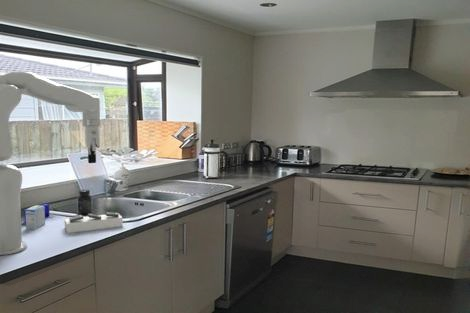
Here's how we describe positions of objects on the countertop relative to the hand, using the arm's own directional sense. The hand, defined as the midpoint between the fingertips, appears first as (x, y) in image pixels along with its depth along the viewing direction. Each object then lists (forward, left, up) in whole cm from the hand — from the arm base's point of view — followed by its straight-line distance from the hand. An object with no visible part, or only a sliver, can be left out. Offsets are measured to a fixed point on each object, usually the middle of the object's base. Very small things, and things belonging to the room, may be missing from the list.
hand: (92, 162), depth 182 cm
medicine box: (-19, +15, -27) cm, 37 cm away
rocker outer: (-4, -14, -22) cm, 26 cm away
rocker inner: (-16, -4, -22) cm, 27 cm away
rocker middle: (-10, -9, -22) cm, 26 cm away
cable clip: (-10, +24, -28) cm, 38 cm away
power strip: (-9, -8, -27) cm, 30 cm away
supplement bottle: (+6, +10, -27) cm, 30 cm away
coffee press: (+129, -6, -27) cm, 132 cm away
